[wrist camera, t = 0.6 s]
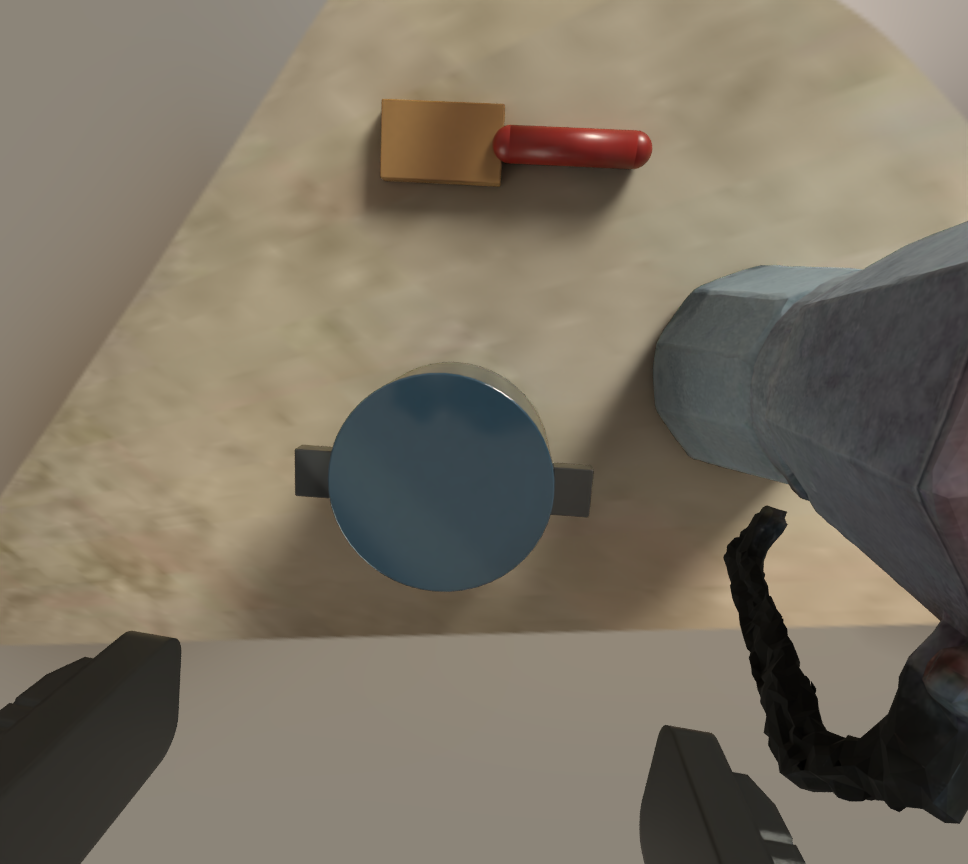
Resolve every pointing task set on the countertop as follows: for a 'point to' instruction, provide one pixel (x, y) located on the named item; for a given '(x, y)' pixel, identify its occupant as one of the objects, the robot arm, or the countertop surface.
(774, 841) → the robot arm
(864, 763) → the moka pot
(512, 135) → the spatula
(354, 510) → the pot
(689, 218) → the countertop surface
